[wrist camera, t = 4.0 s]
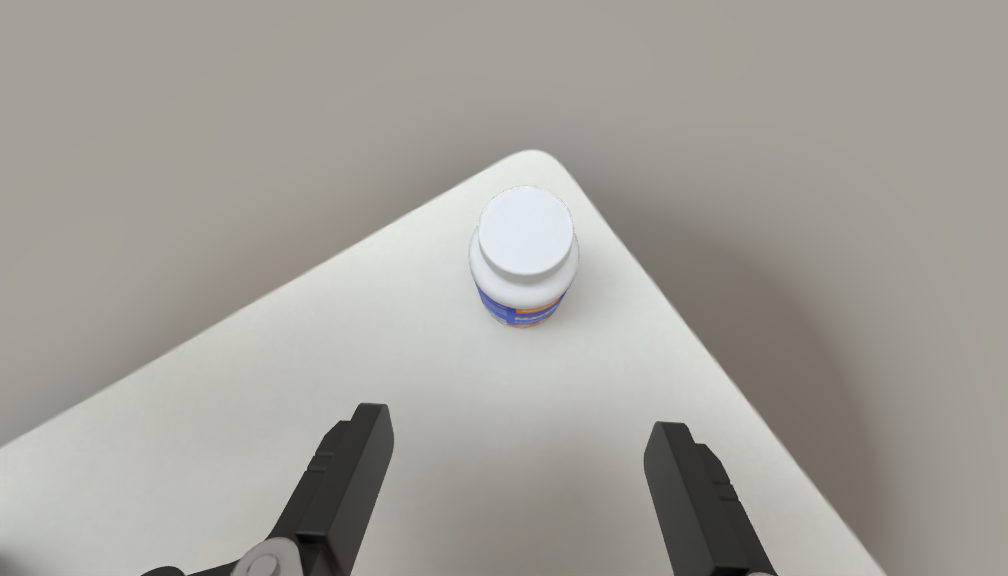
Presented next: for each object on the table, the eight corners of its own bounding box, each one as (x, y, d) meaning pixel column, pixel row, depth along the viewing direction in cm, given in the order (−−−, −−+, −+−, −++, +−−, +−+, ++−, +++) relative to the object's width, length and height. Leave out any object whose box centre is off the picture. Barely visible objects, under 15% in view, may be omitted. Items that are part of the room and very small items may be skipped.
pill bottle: (520, 346, 23) (525, 323, 14) (463, 287, 24) (432, 229, 15) (578, 288, 24) (621, 230, 15) (521, 234, 25) (526, 147, 16)
